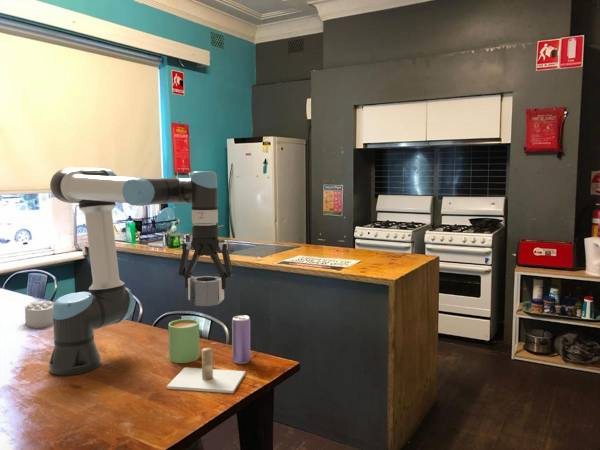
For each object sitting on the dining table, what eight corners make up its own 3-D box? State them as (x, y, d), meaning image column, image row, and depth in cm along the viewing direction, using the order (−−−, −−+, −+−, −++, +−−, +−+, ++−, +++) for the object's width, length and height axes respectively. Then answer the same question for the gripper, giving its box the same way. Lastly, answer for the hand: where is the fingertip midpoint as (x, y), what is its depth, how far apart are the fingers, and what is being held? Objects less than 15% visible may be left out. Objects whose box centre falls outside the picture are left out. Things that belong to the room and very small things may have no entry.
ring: (186, 305, 140) (186, 281, 139) (197, 297, 149) (197, 275, 148) (215, 306, 139) (215, 283, 138) (224, 299, 147) (224, 276, 147)
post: (200, 380, 145) (200, 351, 144) (204, 375, 148) (203, 347, 147) (210, 380, 144) (210, 351, 143) (214, 376, 148) (213, 348, 147)
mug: (206, 357, 166) (205, 323, 164) (180, 365, 158) (179, 330, 157) (185, 348, 174) (184, 315, 173) (159, 355, 167) (158, 321, 165)
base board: (166, 388, 141) (166, 386, 141) (184, 369, 155) (184, 367, 154) (233, 393, 138) (233, 390, 138) (245, 373, 152) (245, 371, 152)
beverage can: (247, 365, 159) (246, 320, 157) (229, 363, 160) (229, 319, 158) (252, 358, 164) (252, 315, 163) (235, 357, 166) (235, 314, 164)
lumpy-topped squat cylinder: (50, 317, 211) (49, 298, 210) (58, 324, 201) (57, 304, 200) (23, 322, 204) (22, 302, 203) (30, 329, 194) (29, 308, 193)
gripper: (164, 224, 139) (166, 301, 141) (237, 225, 136) (237, 304, 138) (175, 222, 147) (177, 295, 149) (243, 223, 144) (244, 297, 146)
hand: (206, 299), depth 144 cm, fingers closed on ring, 9 cm apart
